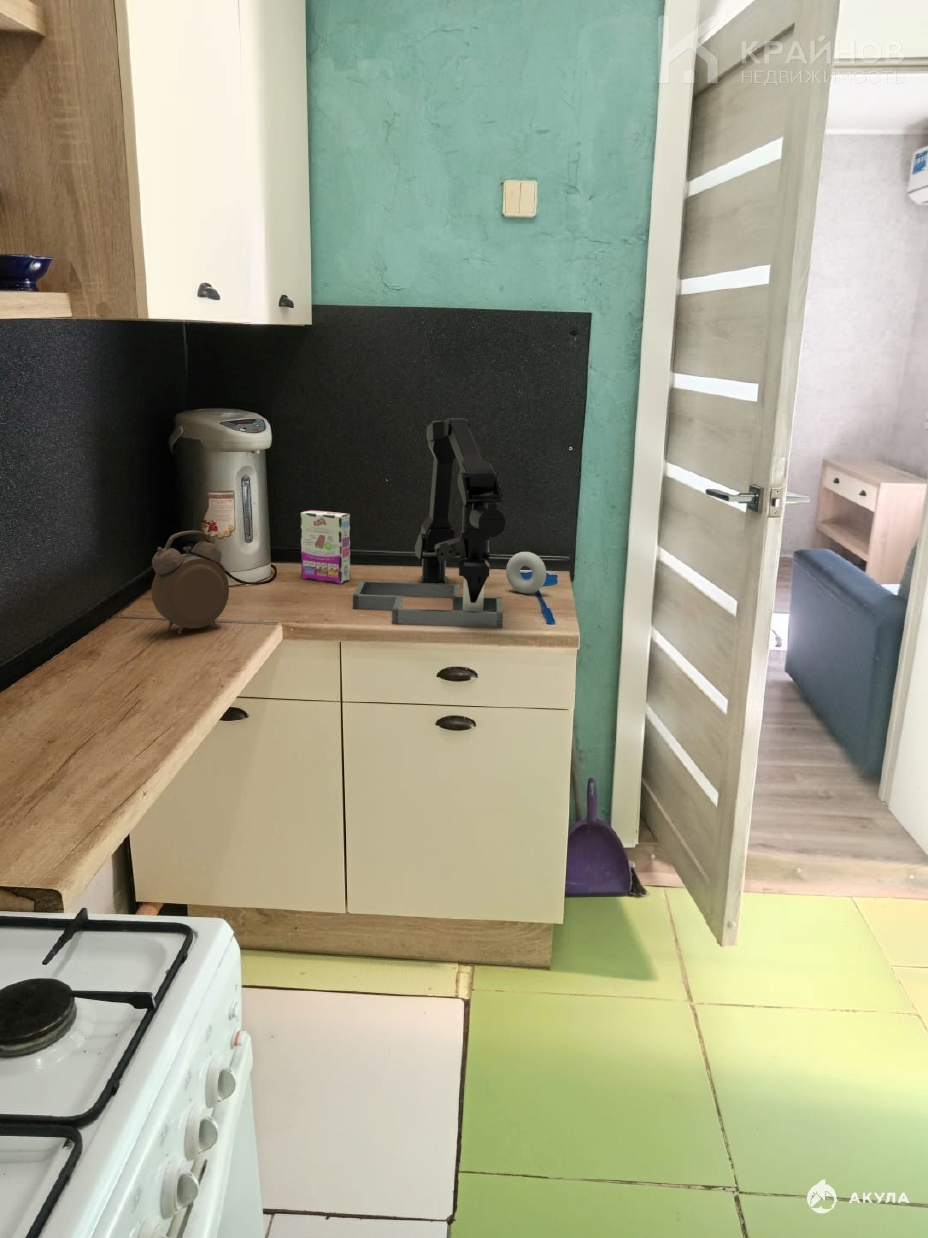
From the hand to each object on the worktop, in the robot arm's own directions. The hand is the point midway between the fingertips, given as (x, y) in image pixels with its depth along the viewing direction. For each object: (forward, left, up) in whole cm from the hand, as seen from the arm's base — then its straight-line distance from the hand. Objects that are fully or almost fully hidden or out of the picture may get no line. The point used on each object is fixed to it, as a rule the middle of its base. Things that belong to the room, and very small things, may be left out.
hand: (473, 599), depth 210 cm
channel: (-5, -10, -4) cm, 12 cm away
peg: (0, 0, -3) cm, 3 cm away
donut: (-22, +12, -4) cm, 25 cm away
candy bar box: (-28, -36, -4) cm, 46 cm away
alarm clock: (+16, -56, -4) cm, 58 cm away
